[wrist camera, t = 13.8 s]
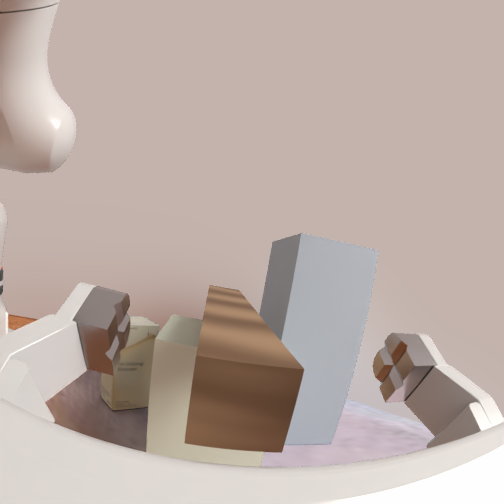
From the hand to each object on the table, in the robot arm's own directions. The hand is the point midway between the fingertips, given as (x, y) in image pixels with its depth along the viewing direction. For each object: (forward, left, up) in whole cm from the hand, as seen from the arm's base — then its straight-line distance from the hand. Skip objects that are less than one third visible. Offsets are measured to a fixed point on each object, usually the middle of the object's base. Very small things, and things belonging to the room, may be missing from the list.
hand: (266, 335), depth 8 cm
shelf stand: (-21, +26, -20) cm, 38 cm away
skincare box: (-30, +5, -20) cm, 36 cm away
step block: (-16, +9, -20) cm, 26 cm away
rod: (-12, +7, -5) cm, 14 cm away
